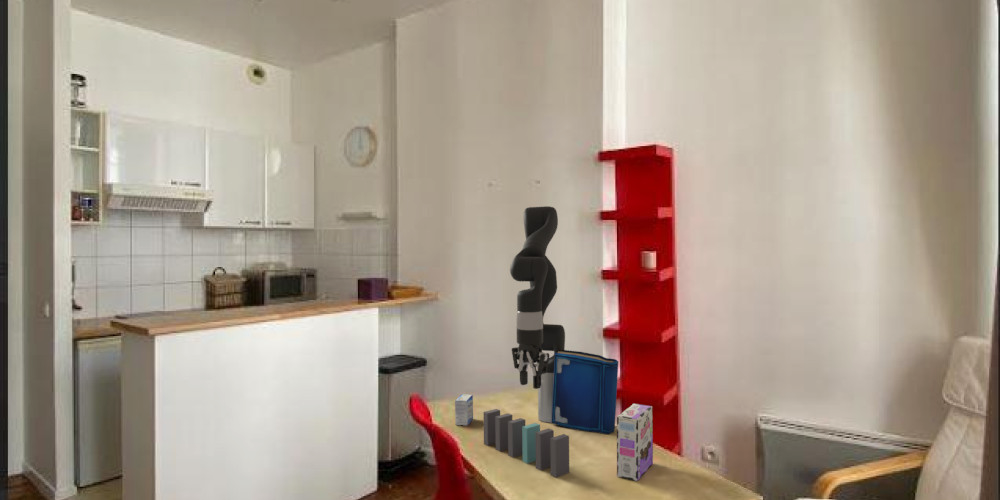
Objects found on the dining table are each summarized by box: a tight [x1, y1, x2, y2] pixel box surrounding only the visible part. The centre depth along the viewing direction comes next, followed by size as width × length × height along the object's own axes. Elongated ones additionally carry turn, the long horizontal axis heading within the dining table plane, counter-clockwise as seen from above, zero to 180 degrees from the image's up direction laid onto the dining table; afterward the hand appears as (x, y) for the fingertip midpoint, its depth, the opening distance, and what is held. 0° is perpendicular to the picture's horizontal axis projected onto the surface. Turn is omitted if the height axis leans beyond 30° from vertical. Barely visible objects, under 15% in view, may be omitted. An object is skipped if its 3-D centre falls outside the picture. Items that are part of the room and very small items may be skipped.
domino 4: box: [522, 422, 541, 464], centre depth 160 cm, size 5×2×10 cm, turn 128°
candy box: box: [616, 403, 654, 482], centre depth 153 cm, size 14×6×16 cm, turn 148°
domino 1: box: [483, 408, 501, 447], centre depth 174 cm, size 5×2×10 cm, turn 128°
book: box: [551, 349, 619, 435], centre depth 188 cm, size 22×7×25 cm, turn 61°
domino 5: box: [535, 427, 555, 471], centre depth 156 cm, size 5×2×10 cm, turn 128°
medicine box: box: [454, 394, 474, 427], centre depth 195 cm, size 8×4×9 cm, turn 168°
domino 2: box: [495, 412, 513, 452], centre depth 170 cm, size 5×2×10 cm, turn 128°
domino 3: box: [507, 417, 526, 458], centre depth 165 cm, size 5×2×10 cm, turn 128°
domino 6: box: [550, 433, 570, 479], centre depth 151 cm, size 5×2×10 cm, turn 128°
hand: (530, 386), depth 160 cm, fingers open, 5 cm apart
